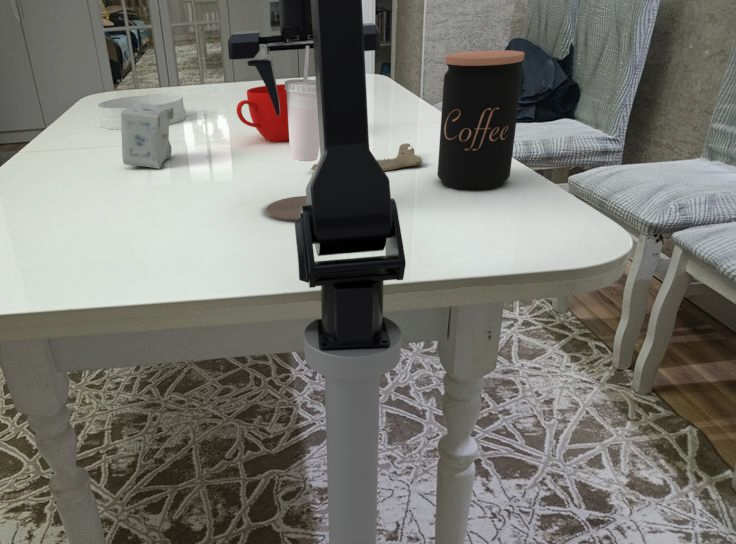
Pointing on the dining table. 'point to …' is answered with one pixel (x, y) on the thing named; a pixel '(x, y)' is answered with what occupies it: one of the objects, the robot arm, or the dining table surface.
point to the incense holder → (146, 135)
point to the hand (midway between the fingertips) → (305, 113)
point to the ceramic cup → (267, 113)
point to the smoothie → (303, 116)
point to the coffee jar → (479, 118)
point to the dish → (113, 108)
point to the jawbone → (398, 159)
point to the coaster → (287, 208)
